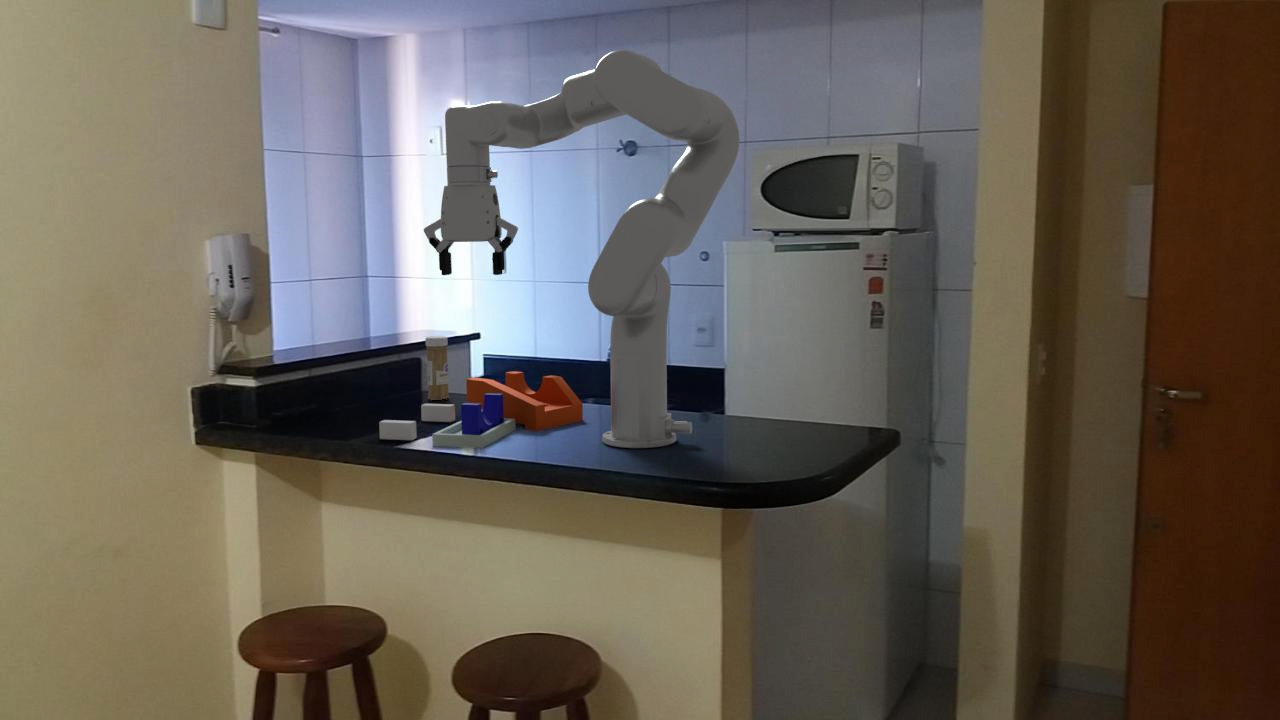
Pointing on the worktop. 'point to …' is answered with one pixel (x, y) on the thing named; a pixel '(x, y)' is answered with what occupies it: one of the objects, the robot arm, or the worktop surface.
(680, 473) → the worktop surface
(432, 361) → the sprinkles bottle
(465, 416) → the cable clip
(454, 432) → the tray
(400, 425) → the white rectangular blocks
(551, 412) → the tape dispenser
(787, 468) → the worktop surface
